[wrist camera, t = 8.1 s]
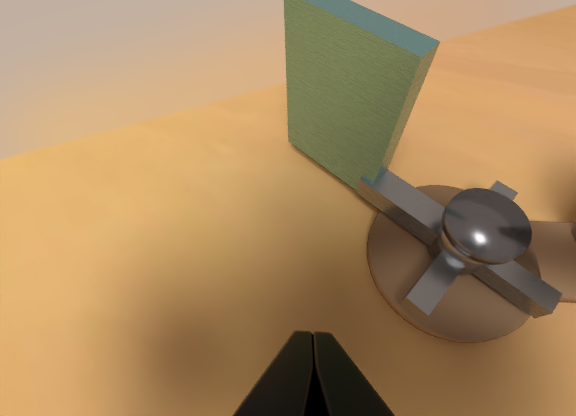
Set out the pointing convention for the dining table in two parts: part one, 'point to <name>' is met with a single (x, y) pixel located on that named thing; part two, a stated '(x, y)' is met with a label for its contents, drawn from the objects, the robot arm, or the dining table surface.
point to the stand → (467, 276)
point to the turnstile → (382, 144)
